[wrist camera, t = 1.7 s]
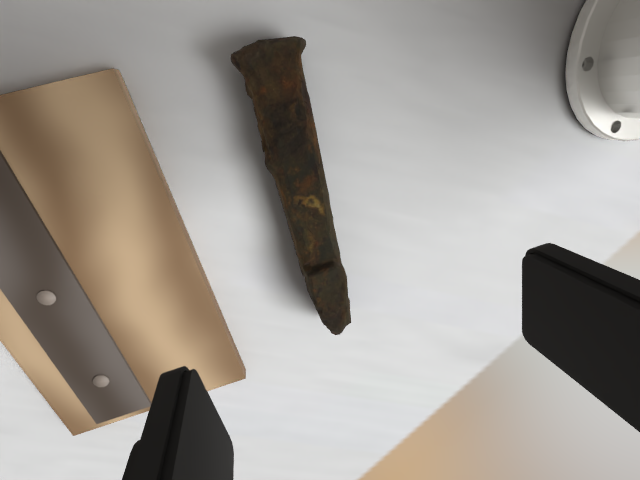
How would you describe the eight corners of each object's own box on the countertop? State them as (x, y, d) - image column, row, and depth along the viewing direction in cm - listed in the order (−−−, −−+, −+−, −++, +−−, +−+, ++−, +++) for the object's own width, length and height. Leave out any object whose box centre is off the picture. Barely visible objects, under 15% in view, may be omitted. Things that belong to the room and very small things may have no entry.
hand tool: (230, 53, 20) (226, 38, 15) (298, 42, 20) (311, 24, 16) (295, 320, 27) (303, 360, 23) (343, 307, 28) (361, 344, 23)
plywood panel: (119, 70, 19) (110, 67, 17) (245, 369, 27) (245, 381, 26) (-138, 131, 17) (-166, 132, 16) (79, 424, 26) (71, 439, 25)
